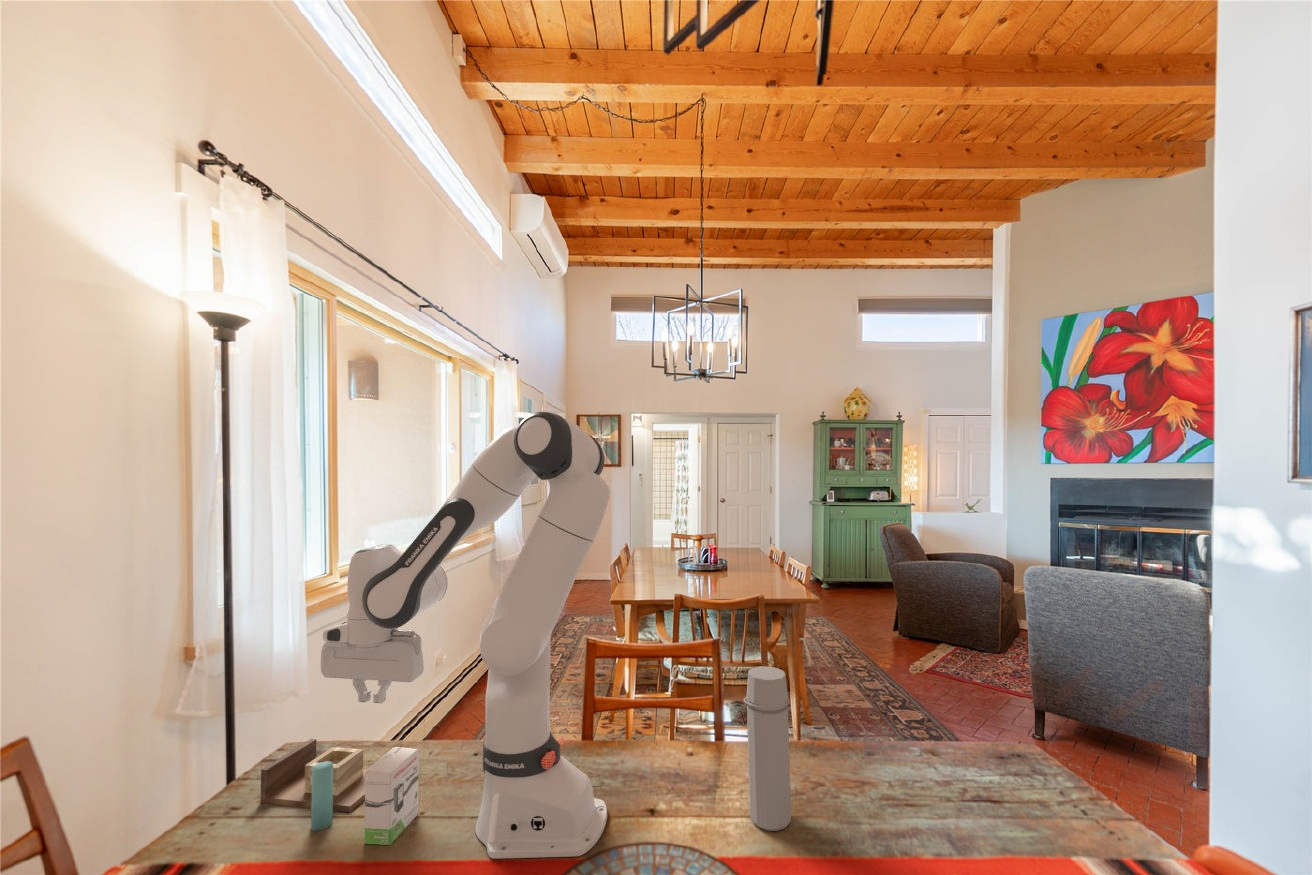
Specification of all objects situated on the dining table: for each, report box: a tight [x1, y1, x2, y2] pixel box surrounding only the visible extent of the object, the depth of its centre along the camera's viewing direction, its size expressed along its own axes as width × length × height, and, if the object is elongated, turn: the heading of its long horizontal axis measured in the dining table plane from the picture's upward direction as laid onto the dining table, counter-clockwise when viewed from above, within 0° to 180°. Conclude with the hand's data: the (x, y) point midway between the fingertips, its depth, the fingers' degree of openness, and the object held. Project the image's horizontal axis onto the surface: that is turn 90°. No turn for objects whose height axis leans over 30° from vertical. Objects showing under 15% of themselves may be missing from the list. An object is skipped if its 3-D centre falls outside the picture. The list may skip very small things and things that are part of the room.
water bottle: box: [743, 666, 792, 832], centre depth 98 cm, size 9×8×25 cm
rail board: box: [260, 738, 369, 813], centre depth 108 cm, size 19×12×6 cm, turn 80°
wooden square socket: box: [305, 746, 364, 796], centre depth 108 cm, size 7×7×5 cm
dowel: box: [310, 761, 334, 832], centre depth 97 cm, size 3×3×10 cm
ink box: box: [364, 746, 420, 846], centre depth 96 cm, size 9×5×12 cm, turn 172°
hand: (372, 701), depth 108 cm, fingers closed
